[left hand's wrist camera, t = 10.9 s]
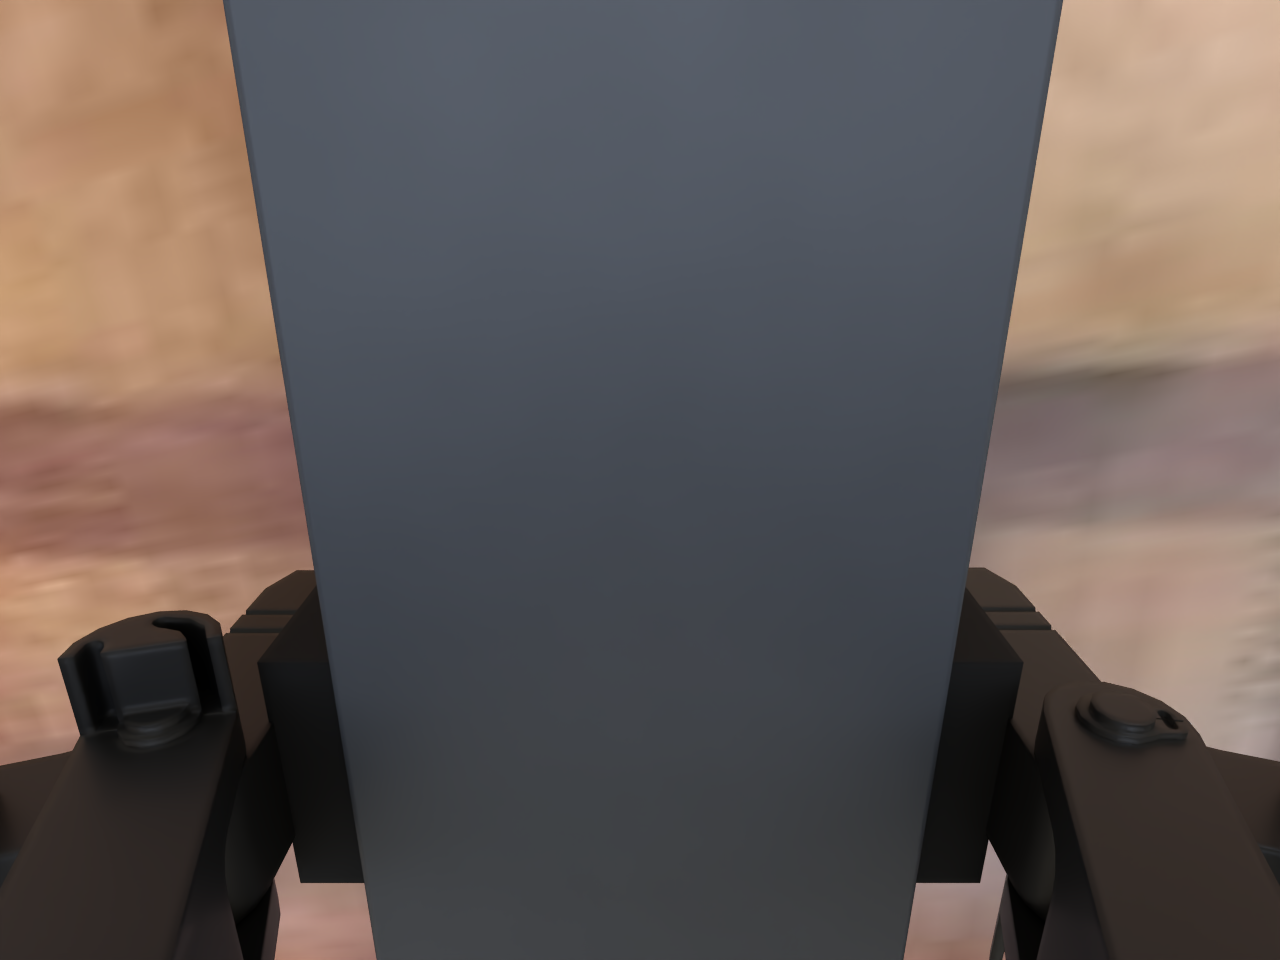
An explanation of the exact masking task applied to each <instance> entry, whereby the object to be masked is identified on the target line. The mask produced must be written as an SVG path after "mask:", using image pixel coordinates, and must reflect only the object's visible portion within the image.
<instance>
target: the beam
mask: <svg viewBox="0 0 1280 960" xmlns="http://www.w3.org/2000/svg"><path fill="white" fill-rule="evenodd" d="M1062 3H1063V0H223V4H224V10H225V16H226V22H227V29H228V35H229V41H230V47H231V53H232V60H233V66H234V72H235V78H236V85H237V91H238V97H239V103H240V110H241V116H242V122H243V128H244V135H245V141H246V147H247V153H248V160H249V166H250V172H251V178H252V185H253V191H254V197H255V203H256V209H257V216H258V222H259V228H260V234H261V241H262V247H263V253H264V259H265V266H266V272H267V278H268V284H269V291H270V297H271V303H272V309H273V316H274V322H275V328H276V334H277V340H278V347H279V353H280V359H281V365H282V372H283V378H284V384H285V390H286V397H287V403H288V409H289V415H290V422H291V428H292V434H293V440H294V447H295V453H296V459H297V465H298V471H299V478H300V484H301V490H302V496H303V503H304V509H305V515H306V521H307V528H308V534H309V540H310V546H311V553H312V559H313V565H314V571H315V578H316V584H317V590H318V596H319V602H320V609H321V615H322V621H323V627H324V634H325V640H326V646H327V652H328V659H329V665H330V671H331V677H332V684H333V690H334V696H335V702H336V709H337V715H338V721H339V727H340V733H341V740H342V746H343V752H344V758H345V765H346V771H347V777H348V783H349V790H350V796H351V802H352V808H353V815H354V821H355V827H356V833H357V840H358V846H359V852H360V858H361V864H362V871H363V877H364V883H365V889H366V896H367V902H368V908H369V914H370V921H371V927H372V933H373V939H374V946H375V952H376V958H377V960H903V958H904V952H905V946H906V940H907V934H908V928H909V922H910V916H911V910H912V904H913V898H914V892H915V886H916V880H917V874H918V868H919V862H920V856H921V850H922V844H923V838H924V832H925V826H926V820H927V814H928V808H929V802H930V796H931V790H932V784H933V778H934V772H935V766H936V760H937V754H938V748H939V742H940V736H941V730H942V724H943V718H944V712H945V706H946V700H947V694H948V688H949V682H950V676H951V670H952V664H953V658H954V652H955V646H956V640H957V634H958V628H959V622H960V616H961V610H962V604H963V598H964V592H965V586H966V580H967V574H968V568H969V562H970V556H971V550H972V544H973V538H974V532H975V526H976V520H977V514H978V508H979V502H980V496H981V490H982V484H983V478H984V472H985V466H986V460H987V454H988V448H989V442H990V436H991V430H992V424H993V418H994V412H995V406H996V400H997V394H998V388H999V382H1000V376H1001V370H1002V364H1003V358H1004V352H1005V346H1006V340H1007V334H1008V328H1009V322H1010V316H1011V310H1012V304H1013V298H1014V292H1015V286H1016V280H1017V274H1018V268H1019V262H1020V256H1021V250H1022V244H1023V238H1024V232H1025V226H1026V220H1027V214H1028V208H1029V202H1030V196H1031V190H1032V184H1033V178H1034V172H1035V166H1036V160H1037V154H1038V148H1039V142H1040V136H1041V130H1042V124H1043V118H1044V112H1045V106H1046V100H1047V93H1048V87H1049V81H1050V75H1051V69H1052V63H1053V57H1054V51H1055V45H1056V39H1057V33H1058V27H1059V21H1060V15H1061V9H1062Z"/></svg>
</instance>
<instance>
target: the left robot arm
mask: <svg viewBox="0 0 1280 960" xmlns="http://www.w3.org/2000/svg"><path fill="white" fill-rule="evenodd" d="M58 663H59V666H60V669H61V673H62V676H63V679H64V683H65V686H66V689H67V693H68V696H69V699H70V703H71V706H72V709H73V713H74V716H75V719H76V723H77V726H78V729H79V733H80V737H79V739H78V741H77V743H76V745H75V747H74V749H73V751H70V752H66V753H62V754H57V755H52V756H47V757H42V758H37V759H32V760H27V761H22V762H17V763H12V764H7V765H2V766H0V960H274V958H275V950H276V943H277V936H278V928H279V921H280V907H279V900H278V894H277V889H276V884H275V880H274V877H275V875H276V873H277V871H278V869H279V868H280V866H281V864H282V862H283V860H284V858H285V856H286V854H287V852H288V850H289V848H290V846H291V844H292V842H293V847H294V852H295V857H296V862H297V867H298V872H299V877H300V882H301V883H364V877H363V871H362V864H361V858H360V852H359V846H358V840H357V833H356V827H355V821H354V815H353V808H352V802H351V796H350V790H349V783H348V777H347V771H346V765H345V758H344V752H343V746H342V740H341V733H340V727H339V721H338V715H337V709H336V702H335V696H334V690H333V684H332V677H331V671H330V665H329V659H328V652H327V646H326V640H325V634H324V627H323V621H322V615H321V609H320V602H319V596H318V590H317V584H316V578H315V571H314V570H297V571H295V572H293V573H291V574H290V575H288V576H286V577H285V578H283V579H281V580H279V581H278V582H276V583H274V584H273V585H271V586H269V587H268V588H266V589H265V590H264V591H263V592H262V593H261V594H260V595H259V596H258V598H257V599H256V600H255V601H254V602H253V603H252V604H251V606H250V607H249V608H248V609H247V610H246V615H242V616H241V617H240V618H239V619H238V620H237V621H236V623H235V624H234V625H233V626H232V627H231V628H230V633H226V634H225V635H224V636H223V635H222V631H221V626H220V623H219V622H217V621H216V620H215V619H213V618H212V617H211V616H209V615H208V614H203V613H198V612H193V611H187V610H183V611H160V612H154V613H150V614H145V615H140V616H135V617H130V618H127V619H124V620H121V621H119V622H116V623H113V624H110V625H108V626H105V627H102V628H99V629H97V630H96V631H94V632H92V633H90V634H89V635H87V636H85V637H83V638H82V639H80V640H78V641H76V642H75V643H73V644H72V645H71V646H70V647H69V648H68V649H67V650H66V651H65V652H64V653H63V654H62V655H61V656H60V657H59V658H58ZM988 840H990V842H991V844H992V846H993V848H994V850H995V852H996V854H997V856H998V858H999V860H1000V862H1001V864H1002V866H1003V868H1004V870H1005V871H1006V873H1007V875H1006V880H1005V884H1004V889H1003V894H1002V898H1001V903H1000V908H999V913H998V917H997V922H996V927H995V931H994V936H993V941H992V945H991V950H990V957H989V960H1002V958H1003V954H1004V952H1005V956H1006V960H1280V762H1278V761H1273V760H1268V759H1263V758H1258V757H1253V756H1248V755H1243V754H1238V753H1232V752H1227V751H1222V750H1218V749H1214V748H1210V747H1206V745H1205V743H1204V742H1203V740H1202V738H1201V736H1200V734H1199V733H1198V732H1197V731H1196V729H1195V728H1194V727H1193V726H1192V725H1191V724H1190V722H1189V721H1188V720H1187V719H1186V718H1185V717H1184V716H1183V715H1181V714H1180V713H1178V712H1177V711H1175V710H1174V709H1172V708H1171V707H1169V706H1168V705H1166V704H1165V703H1164V702H1162V701H1160V700H1158V699H1155V698H1153V697H1151V696H1148V695H1146V694H1144V693H1141V692H1139V691H1137V690H1134V689H1131V688H1127V687H1123V686H1119V685H1115V684H1111V683H1106V682H1101V681H1100V680H1099V679H1098V678H1097V677H1096V675H1095V674H1094V673H1093V672H1092V671H1091V670H1090V669H1089V668H1088V666H1087V665H1086V664H1085V663H1084V662H1083V661H1082V660H1081V659H1080V657H1079V656H1078V655H1077V654H1076V653H1075V652H1074V651H1073V650H1072V648H1071V647H1070V646H1069V645H1068V644H1067V643H1066V642H1065V641H1064V639H1063V638H1062V637H1061V636H1060V635H1059V634H1058V633H1057V632H1056V630H1051V625H1050V624H1049V623H1048V621H1047V620H1046V619H1045V618H1044V617H1043V616H1042V615H1041V614H1040V612H1035V607H1034V606H1033V605H1032V603H1031V602H1030V601H1029V600H1028V599H1027V598H1026V597H1025V596H1024V594H1023V593H1022V592H1021V591H1020V590H1019V589H1018V588H1017V587H1016V586H1015V585H1013V584H1012V583H1010V582H1008V581H1007V580H1005V579H1003V578H1001V577H1000V576H998V575H996V574H994V573H993V572H991V571H989V570H988V569H986V568H968V574H967V580H966V586H965V592H964V598H963V604H962V610H961V616H960V622H959V628H958V634H957V640H956V646H955V652H954V658H953V664H952V670H951V676H950V682H949V688H948V694H947V700H946V706H945V712H944V718H943V724H942V730H941V736H940V742H939V748H938V754H937V760H936V766H935V772H934V778H933V784H932V790H931V796H930V802H929V808H928V814H927V820H926V826H925V832H924V838H923V844H922V850H921V856H920V862H919V868H918V874H917V880H916V883H980V880H981V875H982V870H983V865H984V860H985V855H986V850H987V845H988Z"/></svg>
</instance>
